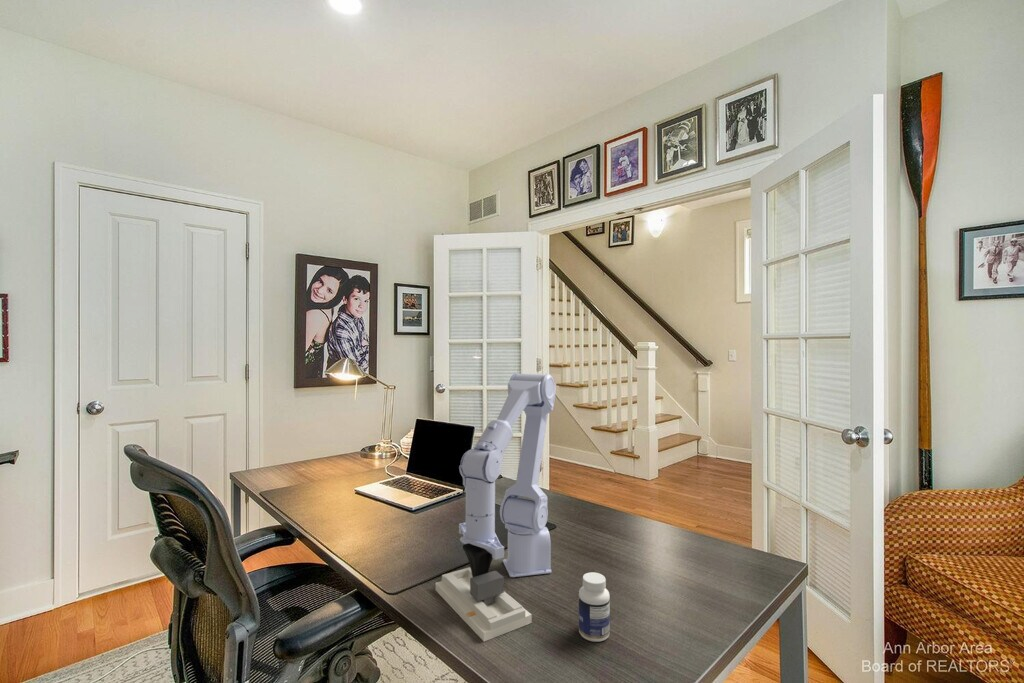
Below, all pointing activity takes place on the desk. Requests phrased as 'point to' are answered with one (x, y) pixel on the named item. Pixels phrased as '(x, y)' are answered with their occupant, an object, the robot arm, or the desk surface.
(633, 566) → the desk surface
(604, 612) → the pill bottle
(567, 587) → the desk surface
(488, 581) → the fader tab
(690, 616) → the desk surface
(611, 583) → the desk surface
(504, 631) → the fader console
